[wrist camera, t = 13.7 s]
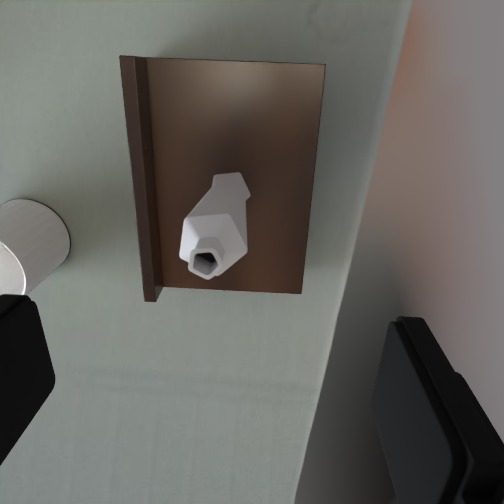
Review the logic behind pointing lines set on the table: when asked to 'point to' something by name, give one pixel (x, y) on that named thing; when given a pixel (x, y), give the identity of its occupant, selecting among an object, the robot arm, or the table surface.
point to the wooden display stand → (222, 162)
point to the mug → (29, 245)
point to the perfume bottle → (216, 227)
